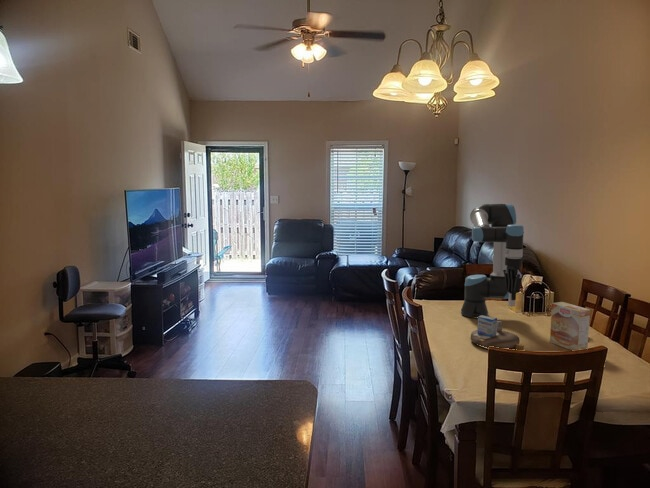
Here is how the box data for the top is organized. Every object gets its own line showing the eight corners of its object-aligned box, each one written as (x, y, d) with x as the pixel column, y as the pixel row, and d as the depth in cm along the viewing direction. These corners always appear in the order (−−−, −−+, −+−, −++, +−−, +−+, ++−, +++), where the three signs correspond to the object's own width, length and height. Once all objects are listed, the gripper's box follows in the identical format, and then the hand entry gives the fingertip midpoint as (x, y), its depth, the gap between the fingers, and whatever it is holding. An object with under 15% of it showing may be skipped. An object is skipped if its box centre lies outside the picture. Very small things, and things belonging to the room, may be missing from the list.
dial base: (465, 342, 219) (465, 336, 219) (489, 334, 230) (489, 328, 229) (510, 357, 200) (510, 350, 199) (534, 347, 210) (534, 341, 210)
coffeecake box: (549, 342, 217) (551, 303, 215) (559, 340, 220) (562, 301, 217) (577, 352, 204) (579, 311, 201) (588, 350, 206) (590, 309, 204)
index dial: (461, 338, 219) (461, 325, 218) (488, 329, 232) (489, 316, 231) (501, 352, 201) (502, 337, 200) (528, 341, 214) (529, 327, 213)
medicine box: (476, 333, 220) (477, 316, 218) (481, 331, 223) (481, 314, 222) (492, 337, 214) (493, 319, 213) (496, 335, 217) (497, 317, 216)
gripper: (498, 255, 218) (497, 303, 221) (514, 260, 206) (512, 310, 209) (512, 255, 220) (510, 302, 223) (529, 259, 207) (527, 309, 210)
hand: (511, 305), depth 216 cm, fingers closed
